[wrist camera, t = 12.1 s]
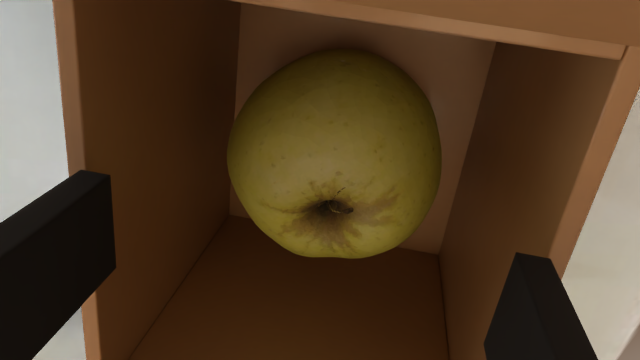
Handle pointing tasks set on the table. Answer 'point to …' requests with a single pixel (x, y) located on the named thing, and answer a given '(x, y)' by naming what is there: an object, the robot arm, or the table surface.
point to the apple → (336, 155)
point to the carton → (324, 272)
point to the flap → (535, 15)
